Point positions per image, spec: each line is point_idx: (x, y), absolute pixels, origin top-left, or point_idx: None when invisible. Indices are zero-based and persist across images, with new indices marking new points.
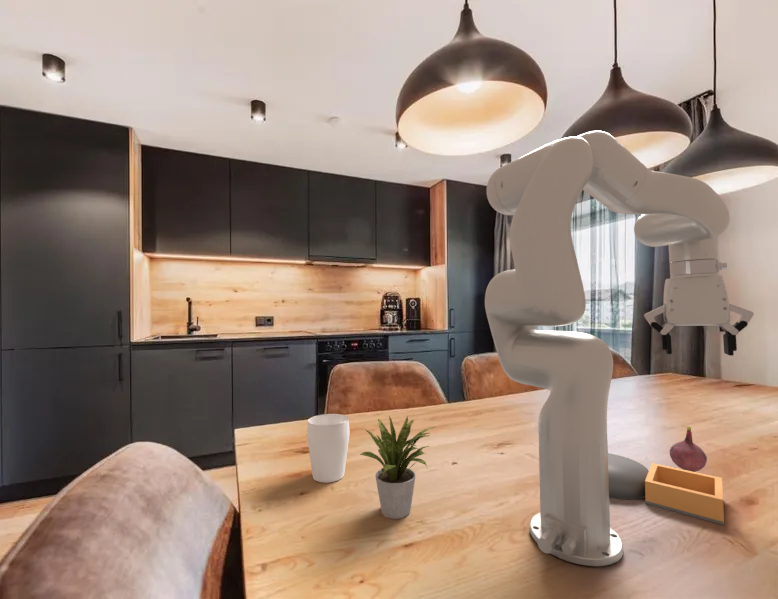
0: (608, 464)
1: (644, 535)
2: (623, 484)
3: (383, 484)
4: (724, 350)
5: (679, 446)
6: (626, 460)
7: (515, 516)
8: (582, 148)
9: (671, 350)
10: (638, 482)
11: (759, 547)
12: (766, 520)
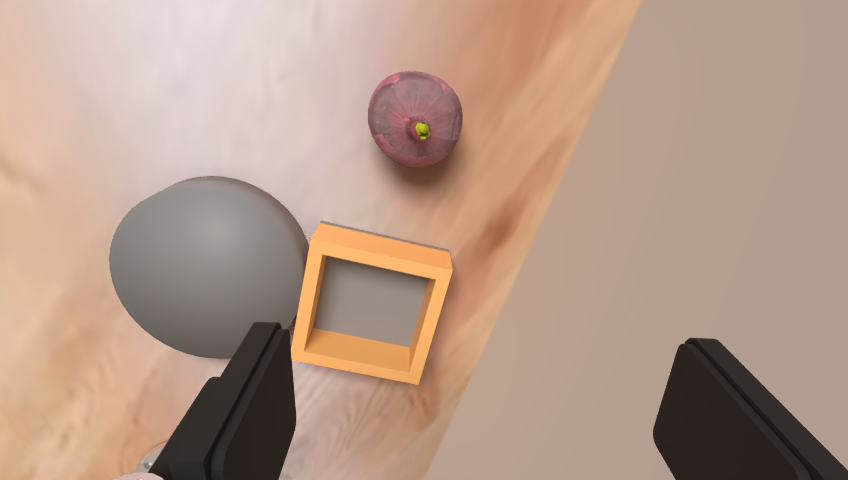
0: (210, 278)
1: (294, 435)
2: None
3: None
4: (689, 367)
5: (389, 142)
6: (250, 227)
7: (105, 463)
8: None
9: (288, 447)
10: None
11: (446, 400)
12: (495, 306)
